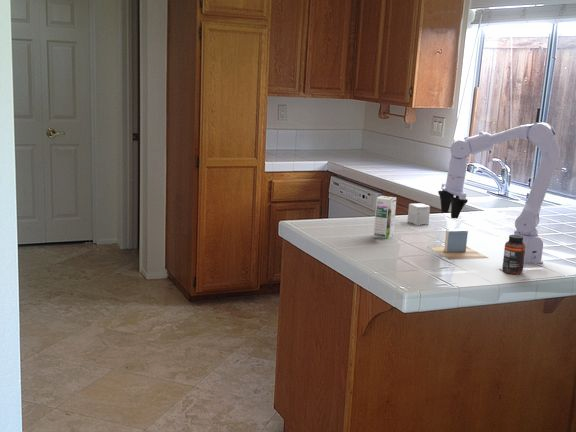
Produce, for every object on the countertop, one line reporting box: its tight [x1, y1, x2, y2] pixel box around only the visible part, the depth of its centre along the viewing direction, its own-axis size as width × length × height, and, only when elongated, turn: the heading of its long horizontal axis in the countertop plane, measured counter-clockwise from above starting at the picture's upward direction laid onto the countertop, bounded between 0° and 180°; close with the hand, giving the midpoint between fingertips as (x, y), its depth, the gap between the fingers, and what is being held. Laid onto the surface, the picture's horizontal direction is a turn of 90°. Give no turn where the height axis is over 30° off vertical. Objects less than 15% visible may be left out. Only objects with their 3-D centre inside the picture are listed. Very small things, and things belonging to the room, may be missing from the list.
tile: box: [443, 228, 469, 252], centre depth 219 cm, size 2×7×7 cm, turn 106°
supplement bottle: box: [501, 234, 525, 275], centre depth 200 cm, size 6×6×11 cm
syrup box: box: [373, 195, 397, 239], centre depth 235 cm, size 6×6×14 cm
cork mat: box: [428, 245, 489, 260], centre depth 219 cm, size 15×14×1 cm
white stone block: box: [406, 203, 431, 226], centre depth 260 cm, size 6×6×7 cm
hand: (449, 215), depth 225 cm, fingers open, 7 cm apart
